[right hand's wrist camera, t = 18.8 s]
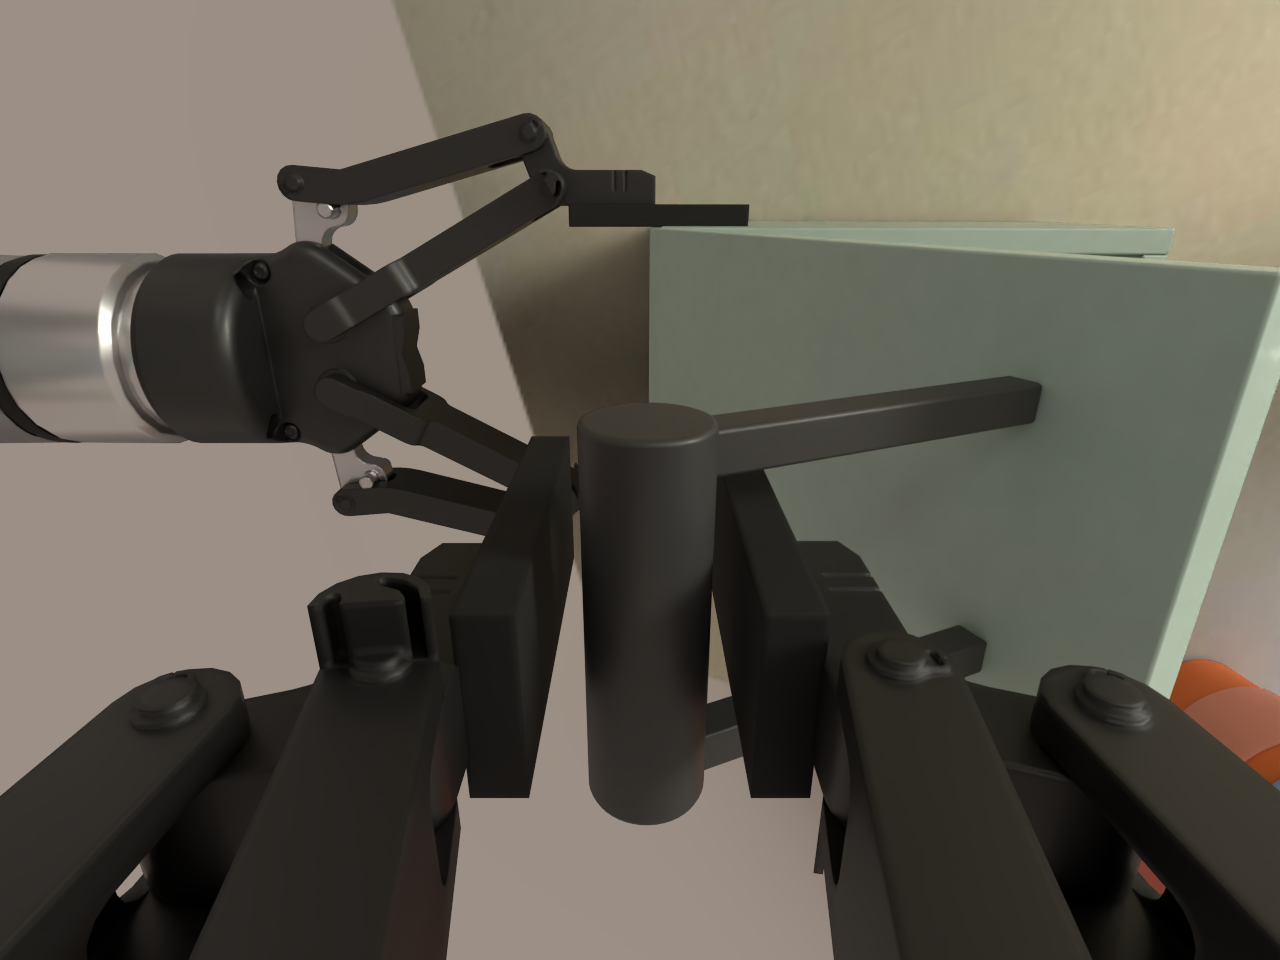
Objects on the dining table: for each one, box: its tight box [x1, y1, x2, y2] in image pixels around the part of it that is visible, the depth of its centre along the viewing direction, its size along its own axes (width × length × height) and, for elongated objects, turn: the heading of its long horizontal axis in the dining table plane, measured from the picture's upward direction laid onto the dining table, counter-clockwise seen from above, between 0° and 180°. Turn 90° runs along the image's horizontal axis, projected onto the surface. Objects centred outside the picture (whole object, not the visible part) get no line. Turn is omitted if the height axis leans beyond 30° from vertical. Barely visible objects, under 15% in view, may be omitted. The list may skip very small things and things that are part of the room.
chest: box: [661, 221, 1175, 260], centre depth 30 cm, size 17×10×10 cm, turn 90°
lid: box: [577, 228, 1280, 825], centre depth 16 cm, size 18×10×9 cm
